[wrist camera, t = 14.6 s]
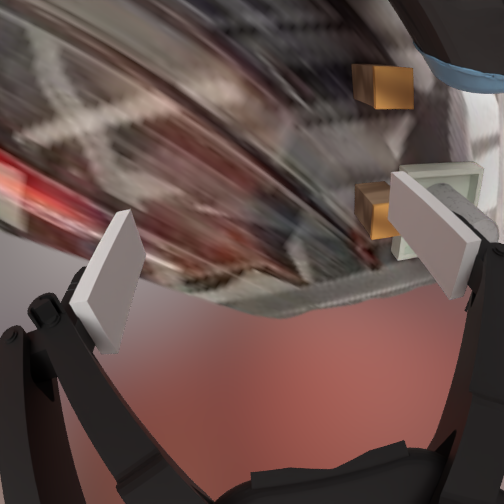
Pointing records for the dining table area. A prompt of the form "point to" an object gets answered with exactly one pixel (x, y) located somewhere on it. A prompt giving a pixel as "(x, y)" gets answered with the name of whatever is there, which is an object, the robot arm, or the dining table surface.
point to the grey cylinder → (465, 210)
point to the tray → (453, 173)
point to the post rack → (380, 97)
